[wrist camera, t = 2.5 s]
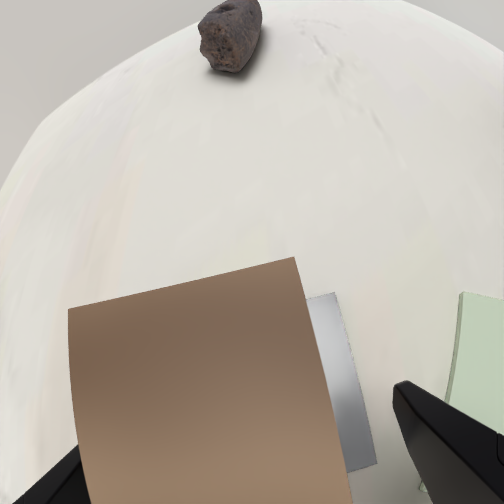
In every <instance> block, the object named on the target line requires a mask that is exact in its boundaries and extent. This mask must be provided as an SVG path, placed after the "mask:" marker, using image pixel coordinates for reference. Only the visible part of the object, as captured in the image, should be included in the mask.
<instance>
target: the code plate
mask: <svg viewBox="0 0 504 504" xmlns="http://www.w3.org/2000/svg"><path fill="white" fill-rule="evenodd" d="M306 302H307V306H308V310H309V314H310V318H311V321H312V325H313V329H314V333H315V337H316V341H317V345H318V349H319V353H320V357H321V361H322V365H323V369H324V373H325V378H326V382H327V386H328V390H329V395H330V399H331V403H332V407H333V412H334V416H335V421H336V425H337V430H338V434H339V439H340V443H341V448H342V453H343V458H344V462H345V467H346V472H347V473H348V472H352V471H355V470H359V469H362V468H365V467H368V466H371V465H374V464H377V460H376V455H375V450H374V445H373V440H372V435H371V431H370V426H369V422H368V417H367V413H366V408H365V404H364V400H363V396H362V391H361V387H360V383H359V379H358V375H357V371H356V367H355V363H354V359H353V356H352V352H351V348H350V344H349V341H348V337H347V333H346V330H345V326H344V323H343V319H342V315H341V312H340V309H339V305H338V302H337V298H336V295H335V292H333V293H329V294H325V295H321V296H318V297H314V298H310V299H306Z"/></svg>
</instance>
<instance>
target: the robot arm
mask: <svg viewBox="0 0 504 504" xmlns="http://www.w3.org/2000/svg"><path fill="white" fill-rule="evenodd" d="M393 409H394V412H395V415H396V418H397V420H398V423H399V426H400V429H401V432H402V435H403V438H404V441H405V444H406V446H407V449H408V452H409V454H410V456H411V458H412V460H413V462H414V464H415V466H416V469H417V471H418V473H419V475H420V477H421V479H422V481H423V483H424V485H425V487H426V489H427V492H428V494H429V496H430V498H431V500H432V502H433V504H504V435H502V434H500V433H497V431H495V430H493V429H491V428H489V427H488V426H486V425H484V424H482V423H481V422H479V421H477V420H475V419H474V418H472V417H470V416H468V415H466V414H465V413H463V412H461V411H460V410H458V409H456V408H454V407H453V406H451V405H449V404H447V403H446V402H444V401H442V400H441V399H439V398H437V397H435V396H434V395H432V394H430V393H429V392H427V391H425V390H424V389H422V388H420V387H418V386H417V385H415V384H413V383H412V382H410V381H407V380H406V381H403V382H400V383H397V384H395V385H394V388H393ZM13 504H91V500H90V496H89V492H88V488H87V484H86V480H85V475H84V471H83V466H82V461H81V456H80V450H79V445H77V446H76V447H74V448H73V449H72V450H71V451H70V452H69V453H68V454H67V455H66V456H65V457H64V458H63V459H61V460H60V461H59V462H58V463H57V464H56V465H55V466H54V467H53V468H52V469H51V470H50V471H48V472H47V473H46V474H45V475H44V476H43V477H42V478H41V479H40V480H39V481H37V482H36V483H35V484H34V485H33V486H32V487H31V488H30V489H29V490H28V491H26V492H25V494H23V495H22V496H21V497H20V498H19V499H17V500H16V501H15V502H14V503H13Z"/></svg>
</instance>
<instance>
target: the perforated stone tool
mask: <svg viewBox="0 0 504 504" xmlns="http://www.w3.org/2000/svg"><path fill="white" fill-rule="evenodd" d="M261 24H262V11H261V7H260V4H259V2H258V1H257V0H227V1H225V2H224V3H222V4H220V5H218V6H217V7H215V8H214V9H213V10H212V11H210V12H208V13H207V15H206V16H205V17H204V18H203V19H202V21H201V22H200V23H199V24H198V30H199V32H200V35H201V37H202V40H201V45H200V52H201V53H202V55H203V56H205V57H206V58H207V59H208V61H209V62H210V65H211V67H212V68H213V69H219V70H221V71H229V72H233V73H237V72H239V71H240V70H241V69H242V68H243V67H244V65H245V64H246V63H247V62H248V61H249V59H250V57H251V56H252V53H253V51H254V49H255V47H256V44H257V41H258V38H259V34H260V30H261Z"/></svg>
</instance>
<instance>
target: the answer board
mask: <svg viewBox="0 0 504 504" xmlns="http://www.w3.org/2000/svg"><path fill="white" fill-rule="evenodd" d="M445 402H446V403H447V404H449V405H451V406H453V407H454V408H456V409H458V410H460V411H461V412H463V413H465V414H466V415H468V416H470V417H472V418H474V419H475V420H477V421H479V422H481V423H482V424H484V425H486V426H488V427H489V428H491V429H493V430H495V431H497V433H500V434H502V435H504V300H500V299H496V298H491V297H487V296H482V295H478V294H473V293H469V292H464V291H463V292H462V293H461V294H460V295H459V310H458V321H457V331H456V339H455V347H454V354H453V361H452V367H451V373H450V379H449V384H448V389H447V394H446V399H445ZM419 490H421V491H422V492H427V489H426V487H425V485H424V483H423V481H422V483H421V486H420V488H419Z"/></svg>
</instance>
